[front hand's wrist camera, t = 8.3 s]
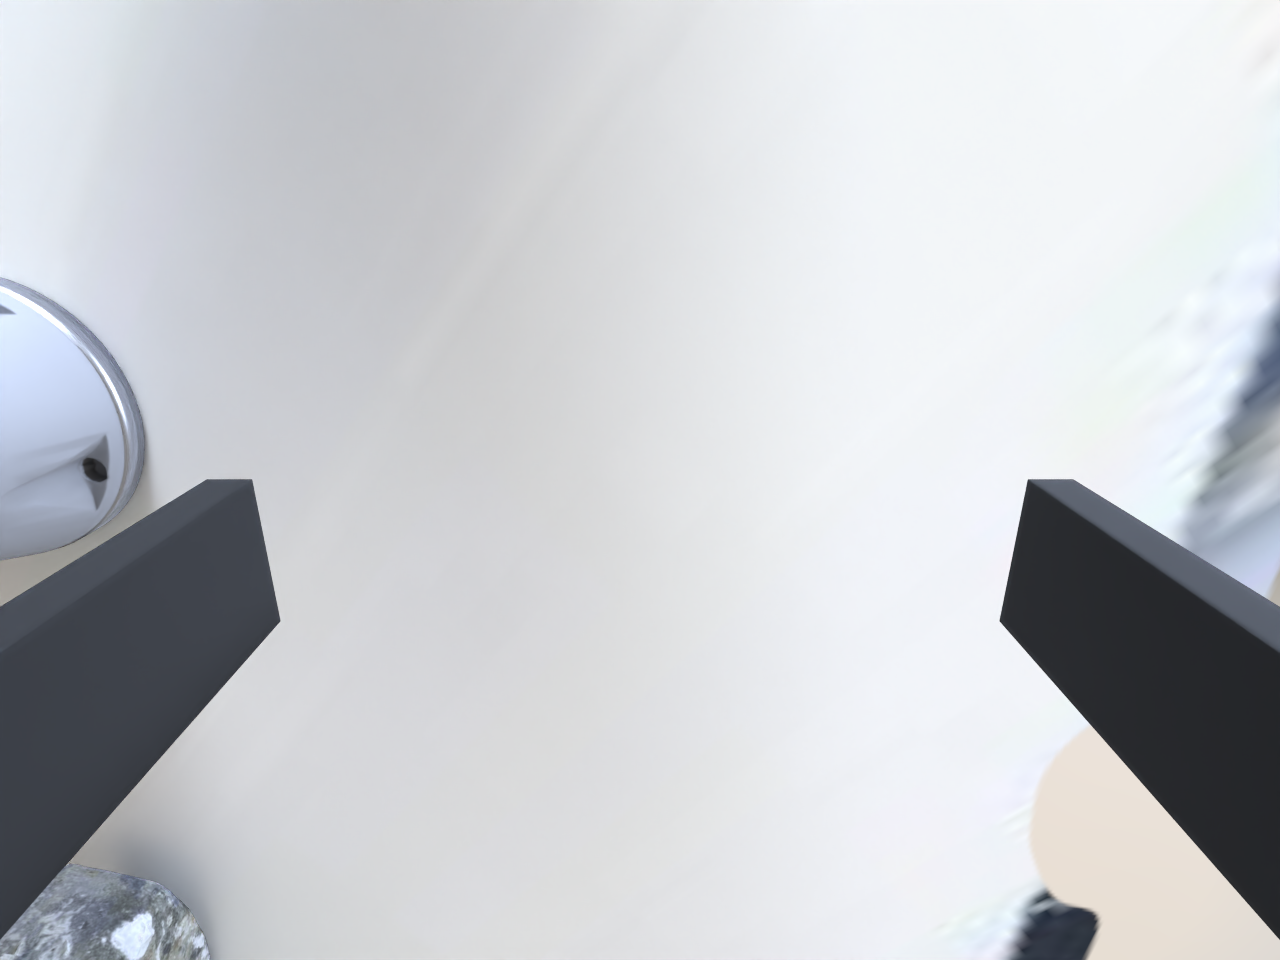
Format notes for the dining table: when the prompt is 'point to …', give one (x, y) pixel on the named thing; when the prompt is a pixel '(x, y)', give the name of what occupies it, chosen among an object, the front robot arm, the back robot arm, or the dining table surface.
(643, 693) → the dining table surface
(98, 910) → the concrete block
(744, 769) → the dining table surface
